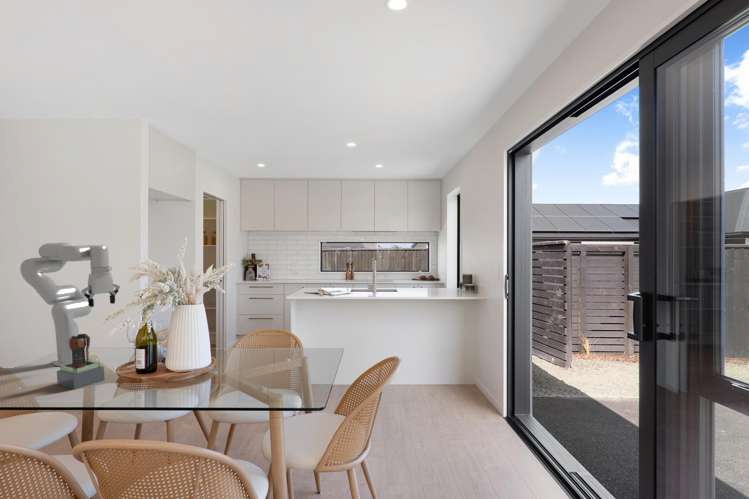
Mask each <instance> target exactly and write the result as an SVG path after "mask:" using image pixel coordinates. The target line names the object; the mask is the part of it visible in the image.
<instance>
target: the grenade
mask: <svg viewBox="0 0 749 499" xmlns="http://www.w3.org/2000/svg"><path fill="white" fill-rule="evenodd" d="M70 338H71V339H70ZM70 338H69V339H70V340H69V344H70V349H71V350H72V365H71V366H72V368H79V367H83V366H87V364H86V361H85V360H87V362H89V360H90V349H89V348H90V344H91V343H90V342H91V337H90V336H89V334H87V333H79V334H78V335H77V336H74V335H73V336H72V337H70Z"/></svg>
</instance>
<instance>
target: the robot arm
mask: <svg viewBox="0 0 749 499" xmlns="http://www.w3.org/2000/svg"><path fill="white" fill-rule="evenodd" d="M37 251H38V255H39V256H40V257H31V258H28V259H25V260H23V261H22V262H21V264H20V266H19V268H20V269H19V270H20V274H21V276H22V278H23V280H24V281H25V282H26V283H27V284H28V285H29V286H31V288H33V289H34V290H35V292H36V293H37V294H38V295H39V296H40V297H41V299H42V300H43V301H44V302H45V303H46V304H47V305H49V306H52V307H51V309H50V310H51V316H52V319H53V323H54V333H55V343H56V344H55V345H56V357H57V360H56V361H54V362H53V365H54V366H55V367H60V366H63V365H66V364H70V363H72V350H71V349H70V344H69V340H70V339H71V338H70V337H72V336H73V335H74V336H77V335H78V334H80V331H79V326H78V324H77V323H76V321H75V320H74V319H78V318H82V317H86V316H88V315H89V314H91V312H92V308H94V307H95V301H94V300H95V299H94V296H95V295H101V294H102V295H103V294H109V303H110V304H114V305H115V304H116V303H115V302H116V295H117V294H118V292H119V290H120V288H121V286H120V285H118V284H115V283H114V280H113V276H112V273H111V272H110V271H112V269H113V268H112V267H111V266H110V264H109V262H110V259H109V248H108V246H107V245H93V244H91V245H89V244H88V245H71V244H70V243H67V242H49V243H43V244H42V245H41V246H40V247H39V248H38V250H37ZM85 261H86V262H87V261H90V273H89V274H88V280H87V286H86V287H85V288H83V289H82V290H80V289H79V288H78V287H77V286H76V285H72V284H67V285H66V284H64V285H58V284H57V283H55V281H54V280H53V279H52V278H50V277H49V276H47V275H44V274H48V273H57V272H60V271H61V270H62V269H63V268H64V266H65V265H66V264H67V263H68V262H85ZM69 338H70V339H69Z"/></svg>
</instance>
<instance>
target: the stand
mask: <svg viewBox="0 0 749 499" xmlns="http://www.w3.org/2000/svg"><path fill="white" fill-rule="evenodd" d="M85 361H86V364H87V366H83V367H79V368H72V366H71V365H72V363H70V364H66V365H63V366H59V370H56V379H57V385H58V386H60V387H64V388H68V389H71V390H77V389H81V388H84V387H87V386H89V385H93V383H94V384H96V383H99V382H103V381H105V380H106V379H105V368H104V366H102V365H101V363H100V362H98V361H94V360H91V359H89V362H87V359H85Z"/></svg>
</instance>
